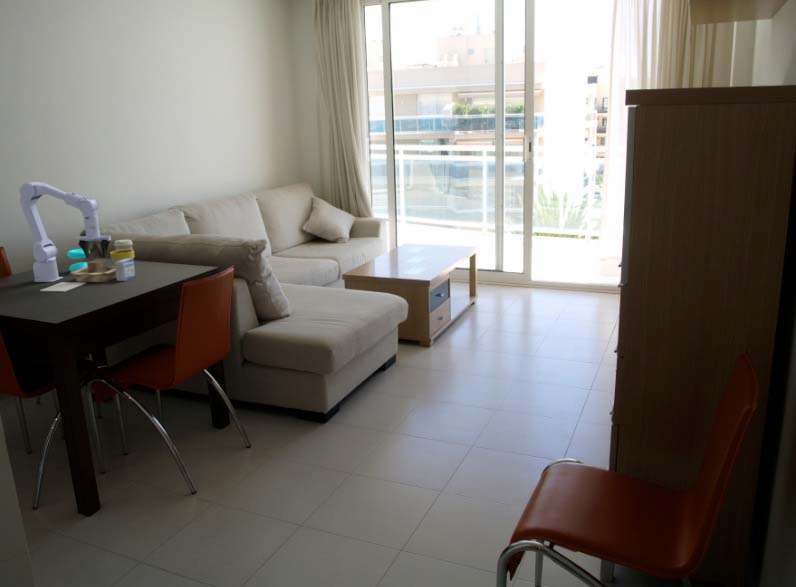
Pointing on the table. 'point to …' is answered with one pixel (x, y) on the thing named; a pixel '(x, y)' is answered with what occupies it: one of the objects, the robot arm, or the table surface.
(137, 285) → the table surface
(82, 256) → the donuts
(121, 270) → the medicine box
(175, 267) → the table surface
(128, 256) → the plant pot
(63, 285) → the felt mat
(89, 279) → the carton
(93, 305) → the table surface
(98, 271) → the walnut box
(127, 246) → the coffee cup
